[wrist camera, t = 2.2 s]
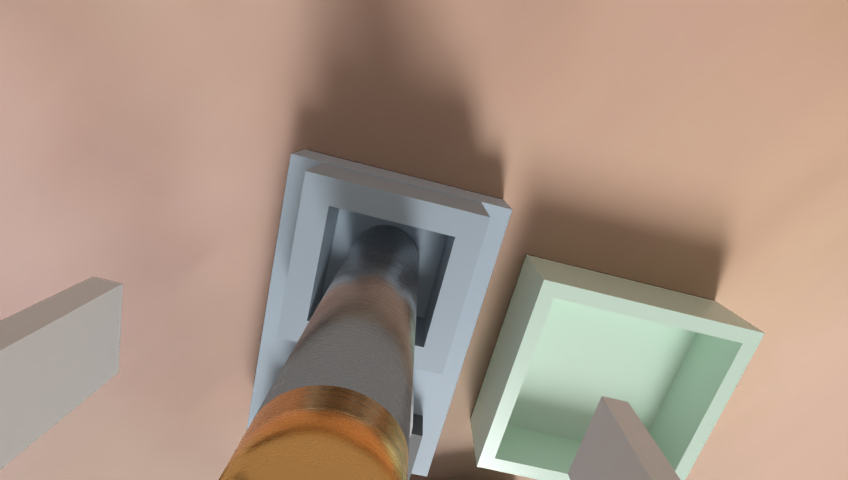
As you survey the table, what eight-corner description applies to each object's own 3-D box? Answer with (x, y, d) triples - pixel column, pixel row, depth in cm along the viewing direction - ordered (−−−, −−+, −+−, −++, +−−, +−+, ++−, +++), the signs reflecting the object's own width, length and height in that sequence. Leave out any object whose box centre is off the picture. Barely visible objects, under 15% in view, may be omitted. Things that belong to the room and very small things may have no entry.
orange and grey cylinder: (344, 281, 22) (187, 598, 8) (358, 217, 21) (207, 442, 7) (410, 296, 22) (378, 633, 8) (426, 234, 21) (425, 487, 7)
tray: (470, 419, 27) (476, 466, 24) (526, 254, 24) (544, 279, 20) (638, 456, 28) (670, 507, 24) (715, 301, 25) (764, 333, 21)
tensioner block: (426, 445, 28) (426, 522, 23) (261, 410, 27) (221, 481, 22) (503, 199, 23) (526, 225, 18) (305, 149, 22) (268, 160, 17)
